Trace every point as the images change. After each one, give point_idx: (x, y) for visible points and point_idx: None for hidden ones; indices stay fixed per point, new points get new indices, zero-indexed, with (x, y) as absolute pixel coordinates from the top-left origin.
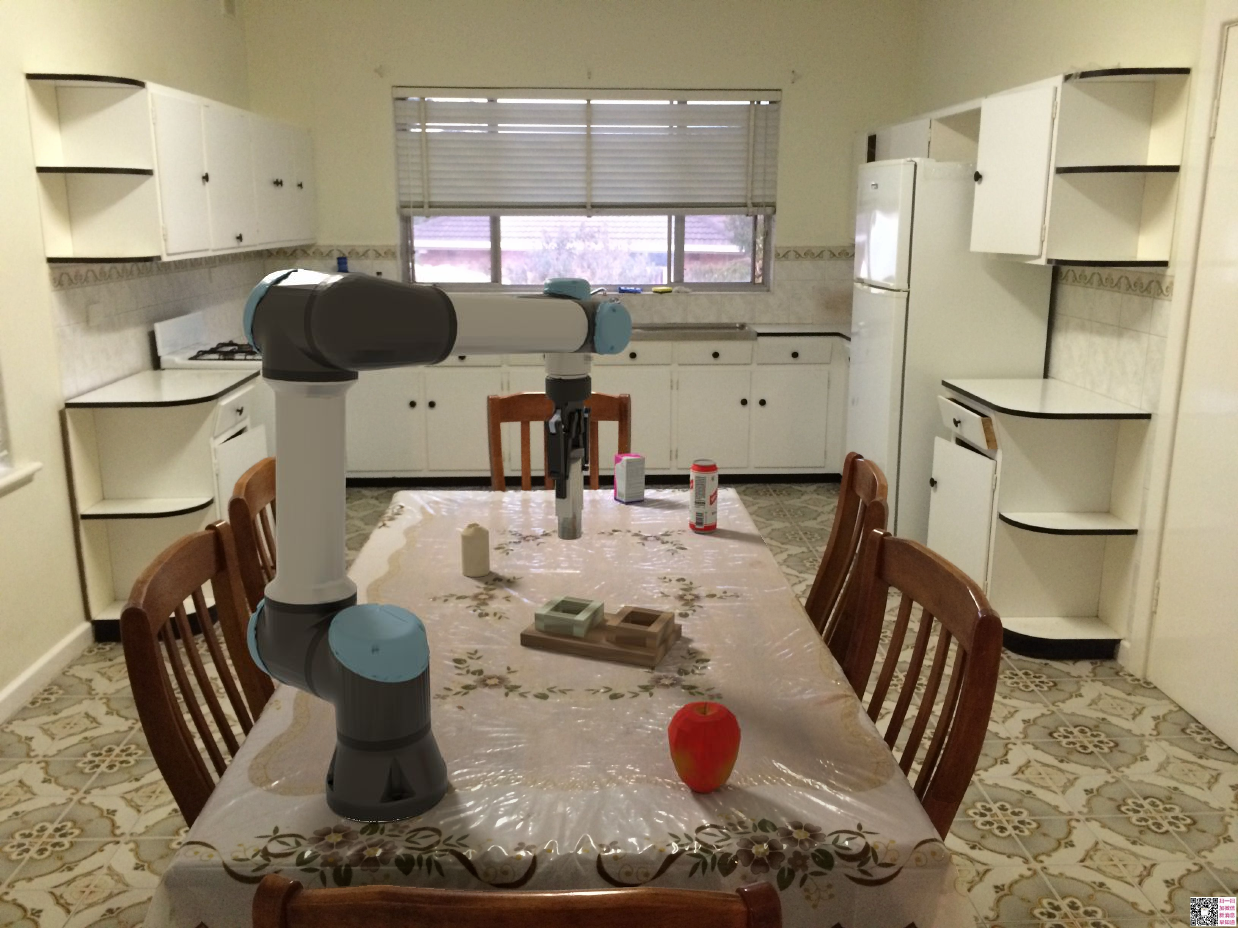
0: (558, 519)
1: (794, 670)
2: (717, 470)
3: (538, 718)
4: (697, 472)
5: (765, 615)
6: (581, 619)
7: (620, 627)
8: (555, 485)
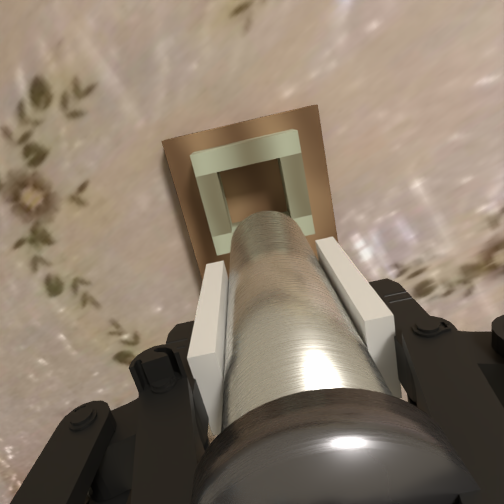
0: (236, 248)
1: None
2: None
3: (5, 320)
4: None
5: None
6: (219, 250)
7: None
8: (192, 335)
